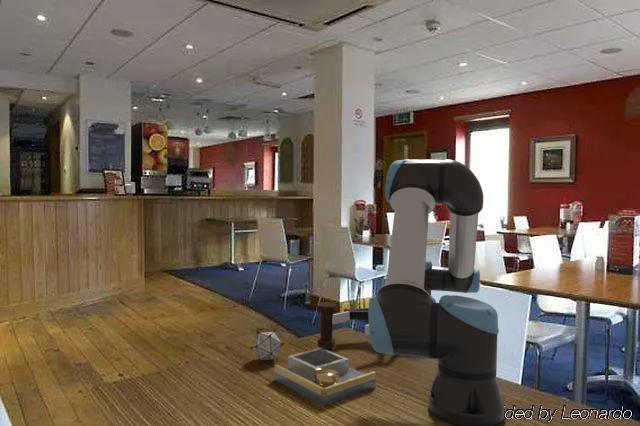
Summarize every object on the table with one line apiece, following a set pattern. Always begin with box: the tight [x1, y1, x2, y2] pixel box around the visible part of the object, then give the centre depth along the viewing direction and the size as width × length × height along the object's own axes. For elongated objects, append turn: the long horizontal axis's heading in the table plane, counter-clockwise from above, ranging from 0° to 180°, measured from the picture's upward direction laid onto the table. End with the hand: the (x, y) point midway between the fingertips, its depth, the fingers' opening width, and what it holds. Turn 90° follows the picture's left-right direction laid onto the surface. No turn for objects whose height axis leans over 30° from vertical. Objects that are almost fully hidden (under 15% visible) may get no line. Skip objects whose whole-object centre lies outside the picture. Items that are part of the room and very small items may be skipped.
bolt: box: [316, 301, 338, 352], centre depth 130 cm, size 6×5×15 cm
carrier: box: [273, 347, 377, 407], centre depth 114 cm, size 18×16×5 cm
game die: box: [249, 328, 286, 364], centre depth 129 cm, size 9×8×10 cm
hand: (348, 324), depth 136 cm, fingers open, 13 cm apart
